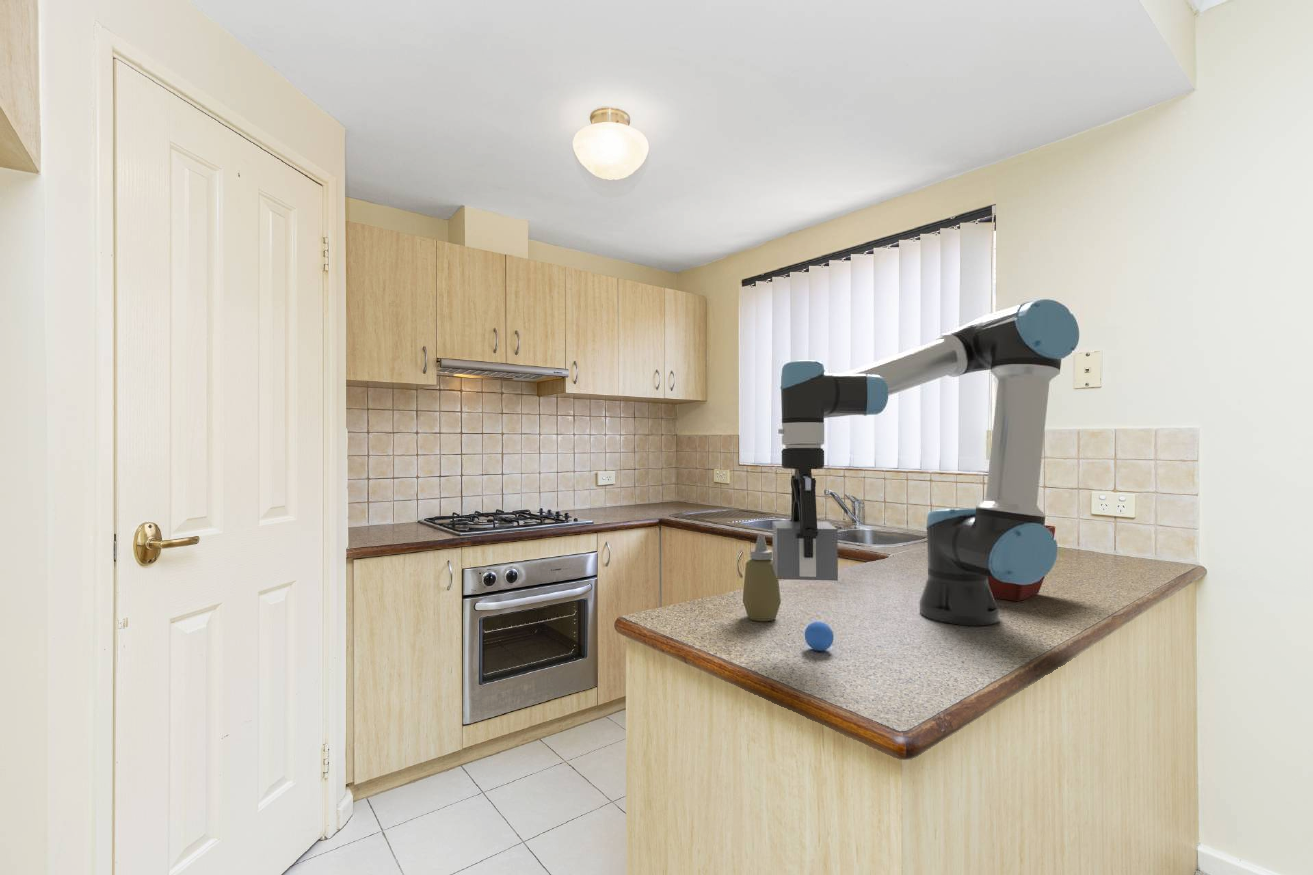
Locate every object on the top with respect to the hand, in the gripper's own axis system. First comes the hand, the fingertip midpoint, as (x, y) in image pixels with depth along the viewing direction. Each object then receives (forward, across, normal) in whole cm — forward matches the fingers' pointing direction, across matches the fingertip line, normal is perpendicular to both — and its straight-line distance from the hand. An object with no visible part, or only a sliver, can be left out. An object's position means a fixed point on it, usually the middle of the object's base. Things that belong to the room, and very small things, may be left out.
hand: (803, 569), depth 107 cm
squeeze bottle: (+14, -19, -6) cm, 25 cm away
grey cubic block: (+1, 0, 0) cm, 1 cm away
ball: (+12, 0, +3) cm, 12 cm away
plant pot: (+14, -47, +54) cm, 73 cm away
